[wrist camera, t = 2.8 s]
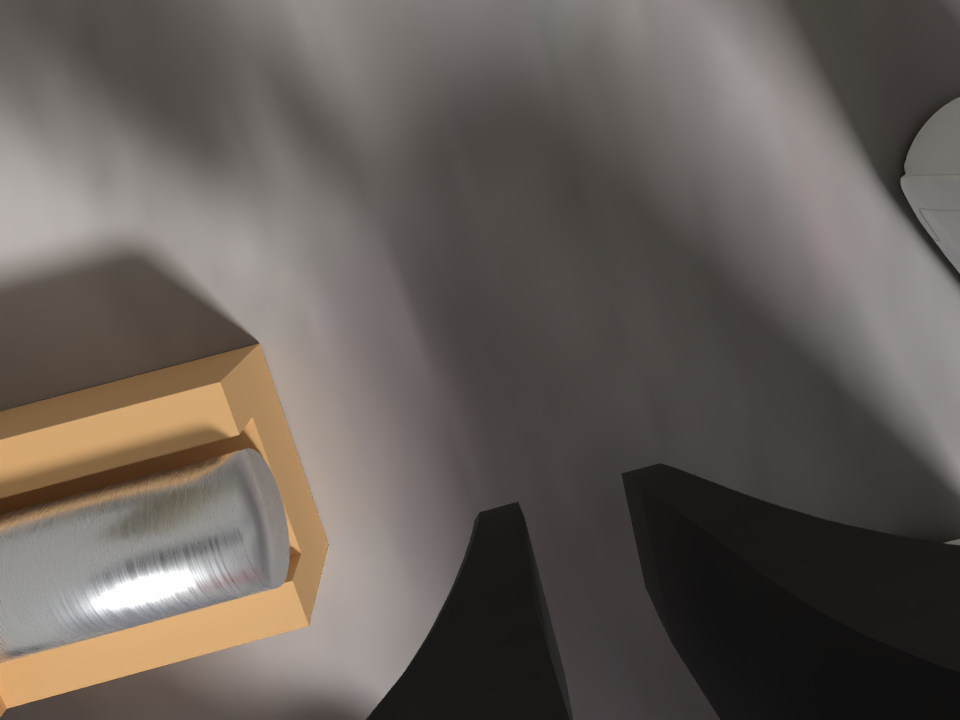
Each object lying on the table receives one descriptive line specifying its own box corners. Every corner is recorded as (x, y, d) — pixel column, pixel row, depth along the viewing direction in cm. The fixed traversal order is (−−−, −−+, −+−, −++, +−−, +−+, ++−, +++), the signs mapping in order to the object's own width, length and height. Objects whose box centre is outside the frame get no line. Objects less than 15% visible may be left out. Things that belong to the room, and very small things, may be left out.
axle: (256, 428, 16) (221, 484, 13) (297, 541, 16) (272, 618, 14) (-178, 543, 15) (-314, 627, 13) (-115, 653, 16) (-230, 756, 13)
